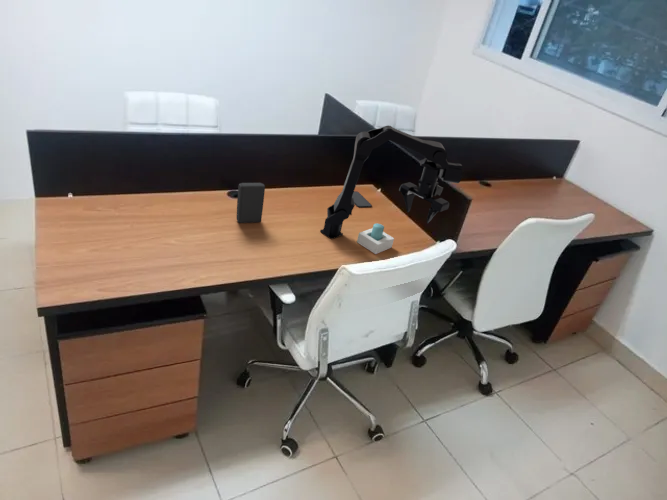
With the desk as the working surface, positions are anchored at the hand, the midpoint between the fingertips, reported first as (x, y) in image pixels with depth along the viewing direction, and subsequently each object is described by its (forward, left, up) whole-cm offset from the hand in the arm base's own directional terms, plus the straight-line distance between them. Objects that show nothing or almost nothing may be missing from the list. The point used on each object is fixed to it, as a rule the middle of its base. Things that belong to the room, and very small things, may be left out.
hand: (417, 217), depth 177 cm
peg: (-13, +7, -12) cm, 19 cm away
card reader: (-44, +43, -12) cm, 63 cm away
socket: (-13, +7, -12) cm, 19 cm away
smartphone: (+10, +37, -13) cm, 40 cm away
